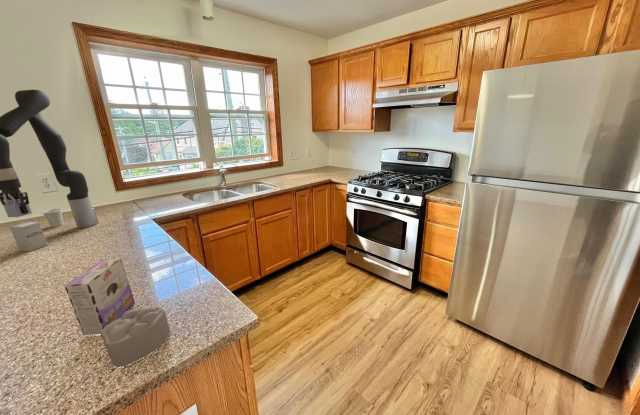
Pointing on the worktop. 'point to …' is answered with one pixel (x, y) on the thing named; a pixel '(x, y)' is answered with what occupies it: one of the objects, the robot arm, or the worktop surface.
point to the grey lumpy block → (135, 335)
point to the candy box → (100, 295)
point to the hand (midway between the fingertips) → (19, 213)
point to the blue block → (15, 210)
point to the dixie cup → (54, 217)
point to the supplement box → (28, 236)
